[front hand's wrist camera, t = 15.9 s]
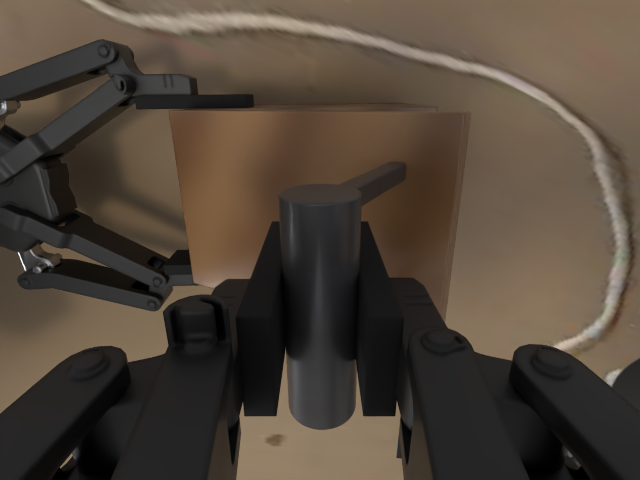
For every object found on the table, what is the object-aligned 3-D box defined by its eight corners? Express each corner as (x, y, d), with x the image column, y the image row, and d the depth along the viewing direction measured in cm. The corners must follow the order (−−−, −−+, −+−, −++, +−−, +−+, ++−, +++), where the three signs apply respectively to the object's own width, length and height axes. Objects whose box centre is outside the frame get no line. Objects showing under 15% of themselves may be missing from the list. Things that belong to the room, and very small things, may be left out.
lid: (471, 111, 14) (399, 130, 7) (442, 340, 18) (375, 503, 11) (186, 109, 21) (4, 117, 14) (208, 274, 24) (72, 348, 17)
